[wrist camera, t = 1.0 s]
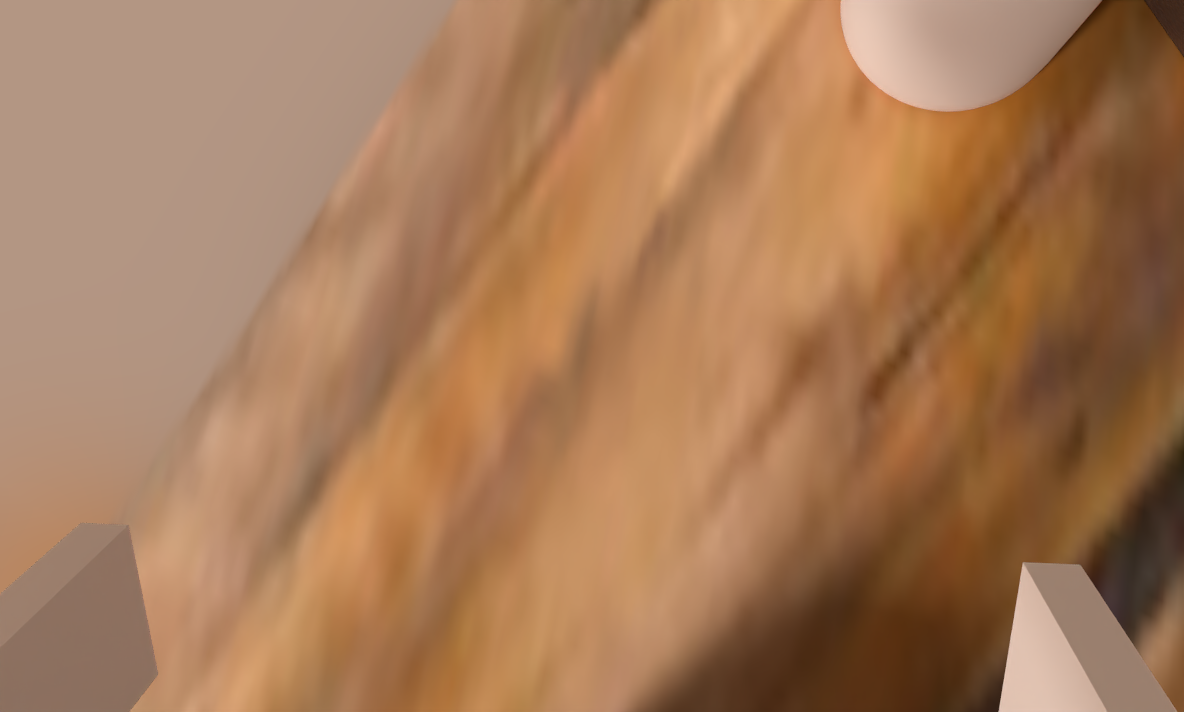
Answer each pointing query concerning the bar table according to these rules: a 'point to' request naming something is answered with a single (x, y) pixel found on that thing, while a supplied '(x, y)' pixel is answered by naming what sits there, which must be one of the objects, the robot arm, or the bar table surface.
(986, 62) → the milk bottle
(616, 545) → the bar table surface
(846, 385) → the bar table surface
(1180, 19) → the gray rectangular tray
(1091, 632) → the robot arm
